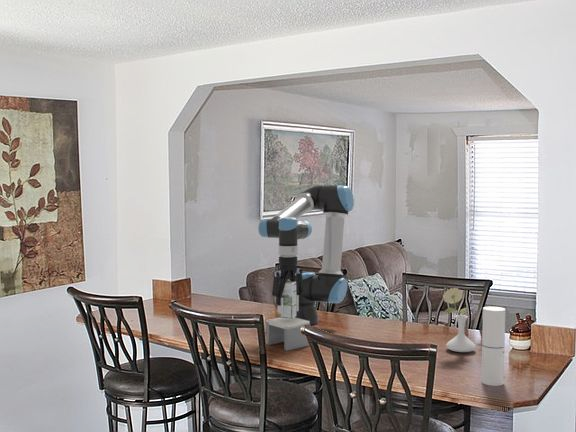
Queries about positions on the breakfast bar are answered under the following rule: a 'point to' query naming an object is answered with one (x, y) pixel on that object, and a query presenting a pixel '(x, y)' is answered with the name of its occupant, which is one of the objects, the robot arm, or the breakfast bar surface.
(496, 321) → the cylindrical container
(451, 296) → the flower in vase
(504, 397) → the breakfast bar surface
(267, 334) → the low shelf
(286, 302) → the syrup box
